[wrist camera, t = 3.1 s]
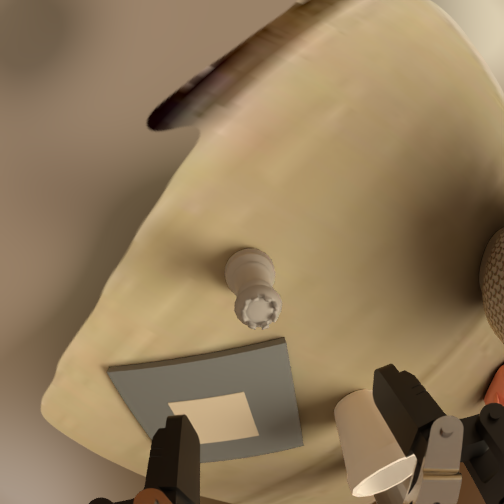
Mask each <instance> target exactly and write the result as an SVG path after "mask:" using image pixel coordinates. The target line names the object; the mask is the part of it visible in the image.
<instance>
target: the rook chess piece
mask: <svg viewBox="0 0 504 504" xmlns="http://www.w3.org/2000/svg"><path fill="white" fill-rule="evenodd" d="M225 278H226V282H227V285H228V287H229V289H230V290H231V291H232V292H233V293H234V294H235V295H236V296H237V299H236V301H235V309H234V311H235V313H236V315H237V318H238V319H239V320H240V321H241V322H242V323H243V324H245V325H248V327H249V328H252V329H254V330H255V328H256V327H262V330H263V329H266V328H269V324H271V323H272V322H274V323H275V322H276V321H277V319H278V316H279V314H280V312H281V309H282V300H281V297H280V295H279V294H278V293H277V292H276V291H275V290H274V289H273V287H272V286H273V284H274V282H275V268H274V265H273V262H272V260H271V259H270V257H269V256H268V255H267V254H266V253H264V252H262V251H260V250H258V249H248V248H246V249H243V250H240V251H238V252H236V253H235V254H234V255H233V256H231V257H230V258H229V260H228V262H227V264H226V266H225Z"/></svg>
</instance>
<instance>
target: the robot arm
mask: <svg viewBox="0 0 504 504" xmlns="http://www.w3.org/2000/svg"><path fill="white" fill-rule="evenodd" d="M372 394H373V400H374V403H375V405H376V407H377V408H378V410H379V412H380V413H381V415H382V417H383V418H384V420H385V422H386V424H387V425H388V427H389V429H390V430H391V432H392V434H393V436H394V437H395V439H396V441H397V443H398V444H399V446H400V448H401V450H402V451H403V453H404V455H405V457H406V458H407V457H409V456H411V455H413V454H414V455H415V456H416V458H417V460H416V463H415V467H414V470H413V474H412V475H411V476H410V477H408V478H407V479H405V480H404V481H402V482H401V483H399V484H397V485H395V486H393V487H391V488H389V489H387V490H385V491H382V492H380V493H377V494H374V497H375V499H376V502H377V504H457V501H458V496H459V491H460V487H461V481H462V474H461V473H459V465H460V462H463V463H464V464H465V466H466V468H467V470H468V471H469V473H470V475H471V477H472V478H473V480H474V482H475V484H476V486H477V488H478V489H479V491H480V493H481V495H482V497H483V499H484V501H485V503H486V504H504V406H503V405H501V404H499V403H490V404H487V405H486V406H484V407H483V408H482V410H481V412H480V414H478V415H474V416H471V417H467V418H464V419H458V418H456V417H454V416H447V415H446V414H445V413H444V412H443V411H442V409H441V408H440V407H439V406H438V404H437V403H436V402H435V401H434V399H433V398H432V397H431V395H430V394H429V393H428V392H427V391H426V389H425V388H424V387H423V385H421V383H420V382H419V381H418V379H417V378H416V377H415V376H414V375H412V374H411V373H409V372H407V371H405V370H404V371H402V372H400V373H399V371H398V370H397V369H396V367H395V366H394V365H393V364H389V365H386V366H384V367H381V368H378V369H376V370H375V372H374V381H373V392H372ZM89 504H200V440H199V437H198V434H197V432H196V431H195V429H194V427H193V426H192V424H191V422H190V420H189V419H188V417H187V416H186V415H185V414H183V415H173V416H168V417H167V419H166V426H165V428H159V429H158V430H157V432H156V433H155V435H154V436H153V438H152V444H151V450H150V458H149V462H148V469H147V475H146V482H145V487H144V489H143V490H142V491H140V492H139V493H138V494H137V495H136V497H135V498H133V499H131V500H126V501H121V502H115V503H113V502H111V501H110V500H108V499H106V498H96V499H94V500H92V501H91V502H90V503H89Z"/></svg>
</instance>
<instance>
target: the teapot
mask: <svg viewBox="0 0 504 504" xmlns="http://www.w3.org/2000/svg"><path fill="white" fill-rule="evenodd" d="M484 401H485V404H486V405H487V404H490V403H499V404H501V405H503V406H504V365H502V366H501V367H500V368H499V369H498V371H497V372H496V374H495V376H494V378H493V380H492V382H491V384H490V386H489V388H488V391H487V393H486V395H485V398H484Z"/></svg>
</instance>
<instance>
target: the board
mask: <svg viewBox="0 0 504 504" xmlns="http://www.w3.org/2000/svg"><path fill="white" fill-rule="evenodd" d="M107 374H108V375H109V377H110V379H111V380H112V382H113V384H114V385H115V387H116V389H117V390H118V392H119V394H120V395H121V397H122V398H123V400H124V401H125V403H126V404H127V406H128V407H129V409H130V410H131V412H132V413H133V415H134V416H135V418H136V419H137V421H138V422H139V423H140V425H141V426H142V428H143V429H144V430H145V432H146V433H147V434H148V436H149V437H150V438H151V440H152V438H153V436H154V435H155V433H156V432H157V430H158V429H159V428H165V426H166V419H167V417H168V416H173V415H183V414H185V415H186V416H187V417H188V419H189V420H190V422H191V424H192V426H193V427H194V429H195V431H196V432H197V434H198V437H199V440H200V463H206V462H216V461H225V460H233V459H240V458H247V457H253V456H258V455H264V454H269V453H274V452H279V451H283V450H288V449H292V448H296V447H300V446H304V445H303V439H302V432H301V426H300V420H299V414H298V408H297V402H296V396H295V390H294V384H293V378H292V373H291V367H290V361H289V355H288V350H287V344H286V341H285V338H284V337H283V338H279V339H275V340H271V341H267V342H262V343H258V344H253V345H249V346H244V347H239V348H234V349H229V350H224V351H219V352H214V353H208V354H202V355H197V356H191V357H185V358H178V359H172V360H165V361H158V362H150V363H142V364H134V365H125V366H115V367H109V369H108V371H107Z"/></svg>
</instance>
